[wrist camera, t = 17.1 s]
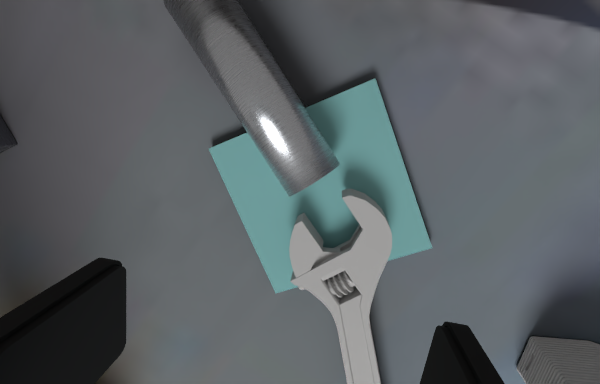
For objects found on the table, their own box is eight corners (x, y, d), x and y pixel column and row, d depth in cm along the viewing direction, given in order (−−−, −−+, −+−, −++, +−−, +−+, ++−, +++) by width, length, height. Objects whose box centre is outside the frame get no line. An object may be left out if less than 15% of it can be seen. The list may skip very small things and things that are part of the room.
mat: (429, 243, 21) (432, 247, 20) (277, 288, 23) (275, 293, 23) (374, 79, 19) (375, 78, 18) (212, 147, 21) (208, 148, 20)
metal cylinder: (351, 156, 18) (229, -38, 17) (313, 185, 16) (172, -35, 15) (315, 176, 20) (208, 9, 19) (278, 202, 18) (157, 17, 17)
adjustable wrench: (398, 473, 27) (402, 499, 25) (322, 469, 28) (321, 494, 26) (386, 188, 19) (390, 197, 18) (283, 196, 20) (278, 206, 19)
